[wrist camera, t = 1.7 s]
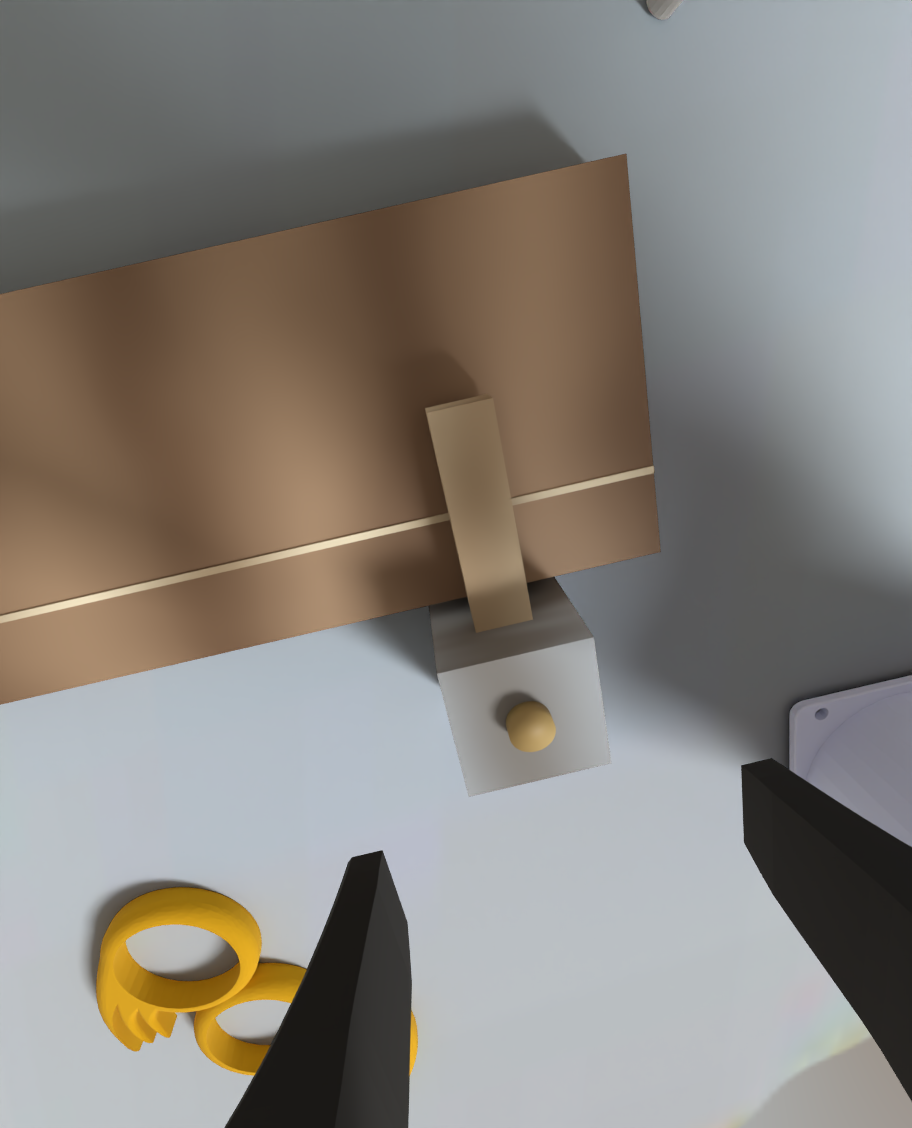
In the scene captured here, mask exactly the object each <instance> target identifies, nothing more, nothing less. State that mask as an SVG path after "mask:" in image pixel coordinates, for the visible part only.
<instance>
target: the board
mask: <svg viewBox="0 0 912 1128" xmlns="http://www.w3.org/2000/svg"><path fill="white" fill-rule="evenodd" d="M485 394H488V395H489V396H491V397H492V398H493V401H494V406H495V412H496V417H497V423H498V428H499V434H500V439H501V445H502V451H503V456H504V462H505V467H506V473H507V478H508V484H509V489H510V495H511V500H512V506H513V511H514V517H515V522H516V528H517V534H518V539H519V545H520V550H521V556H522V561H523V567H524V572H525V578H526V583H528V582H533V581H537V580H541V579H546V578H550V577H554V576H559V575H563V574H567V573H572V572H576V571H580V570H585V569H589V568H593V567H597V566H602V565H606V564H610V563H615V562H619V561H623V560H628V559H632V558H636V557H641V556H645V555H649V554H654V553H658V552H661V550H660V539H659V527H658V515H657V504H656V492H655V481H654V466H653V457H652V446H651V434H650V423H649V411H648V399H647V388H646V376H645V365H644V353H643V341H642V330H641V318H640V307H639V295H638V283H637V272H636V260H635V248H634V237H633V225H632V214H631V202H630V190H629V179H628V167H627V156H626V154H622V155H618V156H614V157H609V158H605V159H600V160H596V161H591V162H587V163H582V164H578V165H573V166H569V167H565V168H560V169H556V170H551V171H547V172H542V173H538V174H533V175H529V176H524V177H520V178H516V179H511V180H507V181H502V182H498V183H493V184H489V185H484V186H480V187H475V188H471V189H467V190H462V191H458V192H453V193H449V194H444V195H440V196H435V197H431V198H426V199H422V200H418V201H413V202H409V203H404V204H400V205H395V206H391V207H386V208H382V209H377V210H373V211H368V212H364V213H360V214H355V215H351V216H346V217H342V218H337V219H333V220H328V221H324V222H319V223H315V224H311V225H306V226H302V227H297V228H293V229H288V230H284V231H279V232H275V233H270V234H266V235H262V236H257V237H253V238H248V239H244V240H239V241H235V242H230V243H226V244H221V245H217V246H213V247H208V248H204V249H199V250H195V251H190V252H186V253H181V254H177V255H172V256H168V257H164V258H159V259H155V260H150V261H146V262H141V263H137V264H132V265H128V266H123V267H119V268H115V269H110V270H106V271H101V272H97V273H92V274H88V275H83V276H79V277H74V278H70V279H66V280H61V281H57V282H52V283H48V284H43V285H39V286H34V287H30V288H25V289H21V290H17V291H12V292H8V293H3V294H0V705H1V704H5V703H9V702H14V701H18V700H22V699H27V698H31V697H35V696H40V695H44V694H48V693H53V692H57V691H61V690H65V689H70V688H74V687H78V686H83V685H87V684H91V683H96V682H100V681H104V680H109V679H113V678H117V677H122V676H126V675H130V674H135V673H139V672H143V671H148V670H152V669H156V668H161V667H165V666H169V665H174V664H178V663H182V662H187V661H191V660H195V659H200V658H204V657H208V656H213V655H217V654H221V653H226V652H230V651H234V650H238V649H243V648H247V647H251V646H256V645H260V644H264V643H269V642H273V641H277V640H282V639H286V638H290V637H295V636H299V635H303V634H308V633H312V632H316V631H321V630H325V629H329V628H334V627H338V626H342V625H347V624H351V623H355V622H360V621H364V620H368V619H373V618H377V617H381V616H386V615H390V614H394V613H399V612H403V611H407V610H411V609H416V608H420V607H424V606H429V605H433V604H437V603H442V602H446V601H450V600H455V599H459V598H463V597H467V593H466V589H465V585H464V580H463V576H462V571H461V567H460V562H459V558H458V553H457V549H456V544H455V540H454V535H453V531H452V526H451V522H450V518H449V513H448V509H447V504H446V500H445V495H444V491H443V486H442V482H441V477H440V473H439V468H438V464H437V460H436V455H435V451H434V446H433V442H432V437H431V433H430V428H429V424H428V419H427V415H426V410H425V408H428V407H433V406H437V405H441V404H446V403H450V402H454V401H459V400H463V399H468V398H472V397H476V396H481V395H485Z"/></svg>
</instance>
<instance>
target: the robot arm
mask: <svg viewBox="0 0 912 1128" xmlns="http://www.w3.org/2000/svg"><path fill="white" fill-rule="evenodd" d="M819 709H820V710H819ZM818 710H819V712H817V711H818ZM816 712H817V713H816ZM741 771H742V798H743V826H744V843H745V845H746V847H747V849H748V851H749V852H750V854H751V856H752V858H753V860H754V862H755V864H756V865H757V867H758V869H759V871H760V873H761V874H762V876H763V878H764V880H765V881H766V883H767V885H768V887H769V888H770V890H771V892H772V894H773V895H774V897H775V898H776V900H777V901H778V903H779V904H780V906H781V907H782V908H783V910H784V911H785V913H786V914H787V916H788V917H789V918H790V920H791V921H792V923H793V924H794V926H795V927H796V928H797V930H798V931H799V933H800V934H801V936H802V937H803V938H804V940H805V941H806V943H807V944H808V945H809V947H810V948H811V950H812V951H813V953H814V954H815V955H816V957H817V958H818V960H819V961H820V962H821V964H822V965H823V967H824V968H825V969H826V971H827V972H828V974H829V975H830V977H831V978H832V979H833V981H834V982H835V984H836V985H837V986H838V988H839V989H840V991H841V992H842V993H843V995H844V996H845V998H846V999H847V1001H848V1002H849V1003H850V1005H851V1006H852V1008H853V1009H854V1010H855V1012H856V1013H857V1015H858V1016H859V1017H860V1019H861V1020H862V1022H863V1023H864V1025H865V1026H866V1028H867V1029H868V1031H869V1032H870V1034H871V1035H872V1037H873V1039H874V1040H875V1042H876V1043H877V1045H878V1046H879V1048H880V1049H881V1051H882V1052H883V1054H884V1056H885V1057H886V1059H887V1061H888V1062H889V1064H890V1066H891V1067H892V1069H893V1071H894V1072H895V1074H896V1076H897V1077H898V1079H899V1080H900V1082H901V1084H902V1086H903V1088H904V1089H905V1091H906V1092H907V1094H908V1096H909V1097H910V1099H911V1100H912V675H910V676H905V677H901V678H897V679H892V680H888V681H884V682H880V683H875V684H871V685H867V686H863V687H858V688H854V689H850V690H846V691H841V692H837V693H833V694H828V695H824V696H820V697H816V698H811V699H807V700H803V701H800V702H798V703H796V704H795V705H794V706H793V707H792V709H791V710H790V745H789V769H787V768H786V767H784V766H783V765H781V764H780V763H778V762H777V761H775V760H773V759H772V758H771V759H766V760H762V761H758V762H754V763H749V764H745V765H741ZM411 994H412V978H411V963H410V949H409V936H408V924H407V920H406V917H405V914H404V911H403V908H402V905H401V903H400V900H399V897H398V894H397V891H396V888H395V885H394V882H393V879H392V876H391V874H390V871H389V868H388V865H387V862H386V859H385V856H384V853H383V850H381V851H377V852H373V853H369V854H364V855H360V856H356V857H352V858H351V860H350V861H349V862H348V864H347V867H346V870H345V873H344V876H343V879H342V882H341V885H340V888H339V891H338V893H337V896H336V899H335V901H334V904H333V907H332V909H331V912H330V914H329V917H328V920H327V922H326V925H325V927H324V930H323V932H322V935H321V937H320V939H319V942H318V944H317V947H316V949H315V951H314V954H313V956H312V958H311V961H310V963H309V965H308V968H307V970H306V972H305V975H304V977H303V979H302V981H301V984H300V986H299V988H298V990H297V992H296V994H295V996H294V998H293V1000H292V1002H291V1005H290V1007H289V1009H288V1011H287V1013H286V1015H285V1017H284V1019H283V1021H282V1024H281V1026H280V1028H279V1030H278V1032H277V1034H276V1036H275V1038H274V1040H273V1042H272V1043H271V1045H270V1047H269V1049H268V1051H267V1053H266V1055H265V1057H264V1059H263V1061H262V1063H261V1064H260V1066H259V1068H258V1070H257V1072H256V1074H255V1075H254V1077H253V1079H252V1081H251V1083H250V1084H249V1086H248V1088H247V1090H246V1092H245V1094H244V1095H243V1097H242V1099H241V1101H240V1102H239V1104H238V1106H237V1107H236V1109H235V1111H234V1112H233V1114H232V1116H231V1117H230V1119H229V1121H228V1123H227V1124H226V1126H225V1128H408V1114H409V1076H410V1038H411Z"/></svg>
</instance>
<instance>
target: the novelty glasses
mask: <svg viewBox="0 0 912 1128" xmlns="http://www.w3.org/2000/svg"><path fill="white" fill-rule="evenodd" d="M171 924H180V925H189V926H195V927H199V928H202V929H205V930H208V931H210V932H213V933H215V934H216V935H218V936H220V937H222V938H223V939H224V940H225V941H227V942H228V943H229V944H230V945H231V946H232V948H233V949H234V950H235V952H236V953H237V955H238V958H239V962H238V963H237V964H236V965H235V966H234V967H233V968H232V969H230V970H228V971H227V972H225V973H223V974H221V975H219V976H216V977H213V978H210V979H205V980H200V981H177V980H171V979H166V978H163V977H160V976H157V975H155V974H153V973H151V972H149V971H147V970H145V969H144V968H142V967H141V966H140V965H139V964H138V963H137V962H136V961H135V960H134V959H133V958H132V956H131V955H130V954H129V952H128V949H127V946H126V940H127V939H128V938H129V937H131V936H132V935H134V934H136V933H138V932H140V931H142V930H145V929H148V928H151V927H155V926H161V925H171ZM261 945H262V941H261V933H260V929H259V927H258V925H257V923H256V921H255V919H254V918H253V917H252V915H251V914H250V913H249V912H248V911H247V910H246V909H245V908H244V907H243V906H241V905H240V904H239V903H237V902H235V901H234V900H232V899H230V898H228V897H226V896H224V895H221V894H219V893H216V892H213V891H209V890H204V889H199V888H190V887H174V888H166V889H160V890H156V891H152V892H149V893H146V894H144V895H141V896H139V897H137V898H135V899H134V900H132V901H131V902H129V903H128V904H126V905H125V906H124V907H123V908H122V909H121V910H120V911H119V912H118V913H117V914H116V915H115V917H114V918H113V919H112V921H111V923H110V925H109V927H108V929H107V931H106V933H105V935H104V938H103V940H102V944H101V950H100V960H99V965H98V971H97V980H96V995H97V1003H98V1008H99V1011H100V1014H101V1016H102V1018H103V1020H104V1022H105V1024H106V1025H107V1027H108V1028H109V1029H110V1031H111V1032H112V1033H113V1035H114V1036H115V1037H116V1038H117V1039H118V1040H119V1041H120V1042H121V1043H123V1044H124V1045H125V1046H126V1047H127V1048H128V1049H131V1050H133V1051H139V1050H140V1048H141V1045H142V1042H143V1041H145V1042H147V1043H153V1041H154V1039H155V1036H156V1033H157V1032H158V1033H159V1034H161V1035H162V1036H164V1037H167V1038H169V1037H170V1036H171V1033H172V1030H173V1027H174V1024H175V1021H176V1018H177V1015H176V1013H175V1012H193V1011H196V1015H195V1019H194V1033H195V1038H196V1041H197V1043H198V1045H199V1047H200V1049H201V1051H202V1052H203V1053H204V1054H205V1055H206V1056H207V1057H208V1058H209V1059H210V1060H211V1061H212V1062H214V1063H215V1064H217V1065H219V1066H220V1067H222V1068H225V1069H227V1070H230V1071H233V1072H237V1073H240V1074H245V1075H255V1074H256V1072H257V1070H258V1068H259V1066H260V1064H261V1063H262V1061H263V1059H264V1057H265V1055H266V1053H267V1051H268V1049H269V1047H270V1045H257V1044H251V1043H246V1042H243V1041H241V1040H238V1039H236V1038H234V1037H232V1036H230V1035H228V1034H227V1033H226V1032H225V1031H224V1030H222V1029H221V1027H220V1026H219V1025H218V1023H217V1021H216V1019H215V1018H216V1017H217V1016H218V1015H219V1014H220V1013H221V1012H223V1011H225V1010H226V1009H228V1008H230V1007H232V1006H234V1005H237V1004H240V1003H244V1002H248V1001H253V1000H279V1001H284V1002H289V1003H291V1002H292V1000H293V998H294V996H295V994H296V992H297V990H298V988H299V986H300V984H301V981H302V979H303V977H304V975H305V972H306V970H307V969H304V968H302V967H299V966H295V965H290V964H284V963H258V961H259V957H260V953H261ZM417 1047H418V1035H417V1025H416V1021H415V1017H414V1015H413V1012H412V1010H411V1038H410V1074H411V1071H412V1069H413V1066H414V1063H415V1059H416V1055H417Z"/></svg>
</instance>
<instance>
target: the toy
mask: <svg viewBox="0 0 912 1128" xmlns="http://www.w3.org/2000/svg"><path fill="white" fill-rule="evenodd" d="M646 2H647V6H648V9H649V11H650V12H651V13H652V15H653V16H654V17H656V18H657V19H660V20H665V19H668V18H669V17H670V16H671V15H672V13H673V12H674V11H675V10H676V9H677V7H678V6H679V5H680V4H681V3H682V2H683V0H646Z"/></svg>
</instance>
